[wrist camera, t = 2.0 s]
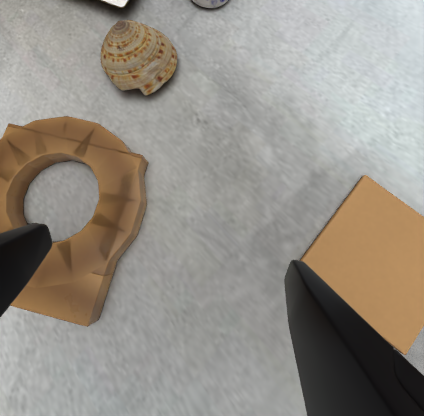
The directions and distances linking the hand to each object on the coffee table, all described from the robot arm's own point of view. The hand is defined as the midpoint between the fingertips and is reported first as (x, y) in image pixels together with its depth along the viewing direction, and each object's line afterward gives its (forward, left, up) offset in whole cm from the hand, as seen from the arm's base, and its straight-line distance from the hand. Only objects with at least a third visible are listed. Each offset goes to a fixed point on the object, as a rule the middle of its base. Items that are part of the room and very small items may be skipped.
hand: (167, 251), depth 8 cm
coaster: (+4, -18, -14) cm, 23 cm away
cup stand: (+1, +14, -14) cm, 20 cm away
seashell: (+19, +11, -15) cm, 26 cm away
